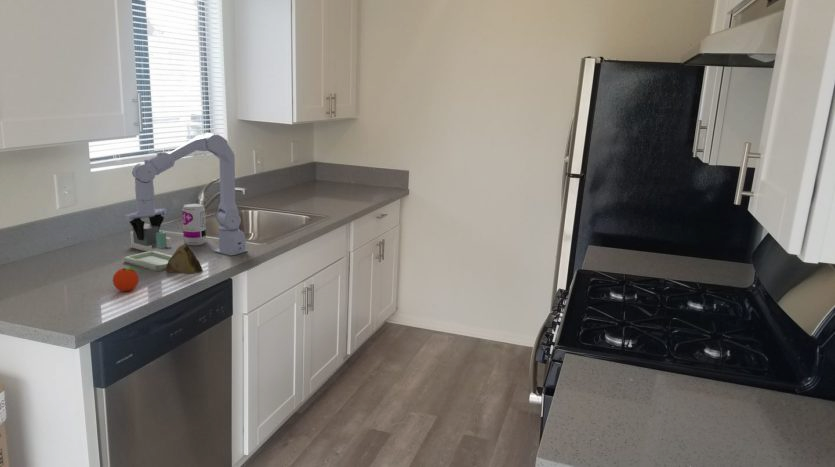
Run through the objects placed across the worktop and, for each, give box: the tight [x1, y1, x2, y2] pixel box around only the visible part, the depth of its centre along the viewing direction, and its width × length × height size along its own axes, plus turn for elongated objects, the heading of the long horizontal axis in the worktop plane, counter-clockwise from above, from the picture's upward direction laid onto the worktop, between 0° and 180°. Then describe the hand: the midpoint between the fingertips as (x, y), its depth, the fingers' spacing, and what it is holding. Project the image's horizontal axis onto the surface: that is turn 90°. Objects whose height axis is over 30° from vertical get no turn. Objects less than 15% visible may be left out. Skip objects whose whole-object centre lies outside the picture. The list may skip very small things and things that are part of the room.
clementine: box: [112, 267, 142, 292], centre depth 180 cm, size 8×7×7 cm
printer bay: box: [129, 230, 172, 252], centre depth 226 cm, size 10×9×6 cm
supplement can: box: [181, 203, 207, 246], centre depth 233 cm, size 8×8×15 cm
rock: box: [165, 244, 204, 274], centre depth 200 cm, size 11×9×10 cm
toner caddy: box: [132, 223, 168, 249], centre depth 206 cm, size 12×5×6 cm, turn 59°
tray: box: [123, 250, 173, 272], centre depth 208 cm, size 18×11×2 cm, turn 59°
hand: (147, 238), depth 207 cm, fingers closed on toner caddy, 5 cm apart
